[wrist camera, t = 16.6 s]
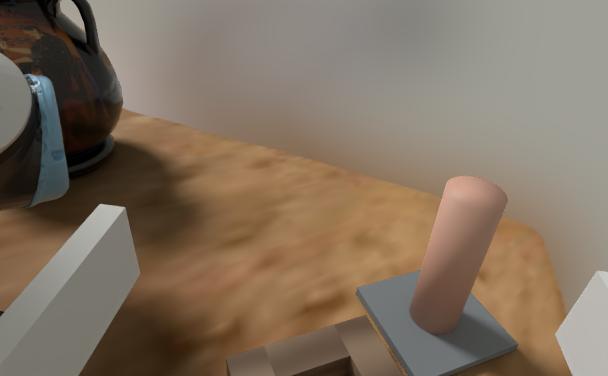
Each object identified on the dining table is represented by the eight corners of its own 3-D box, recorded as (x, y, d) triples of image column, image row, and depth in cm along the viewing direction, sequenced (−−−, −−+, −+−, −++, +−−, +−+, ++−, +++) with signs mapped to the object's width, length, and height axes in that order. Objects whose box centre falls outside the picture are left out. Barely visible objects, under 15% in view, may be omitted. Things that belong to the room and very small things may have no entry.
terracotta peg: (400, 303, 46) (434, 181, 37) (437, 291, 47) (478, 172, 38) (427, 340, 42) (473, 215, 33) (467, 326, 44) (520, 203, 35)
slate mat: (355, 293, 48) (357, 287, 47) (441, 269, 52) (443, 263, 51) (416, 388, 39) (418, 382, 38) (514, 350, 43) (518, 344, 42)
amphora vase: (146, 128, 78) (117, -44, 62) (111, 196, 60) (57, -20, 44) (22, 125, 75) (-40, -53, 60) (-52, 195, 58) (-169, -32, 42)
